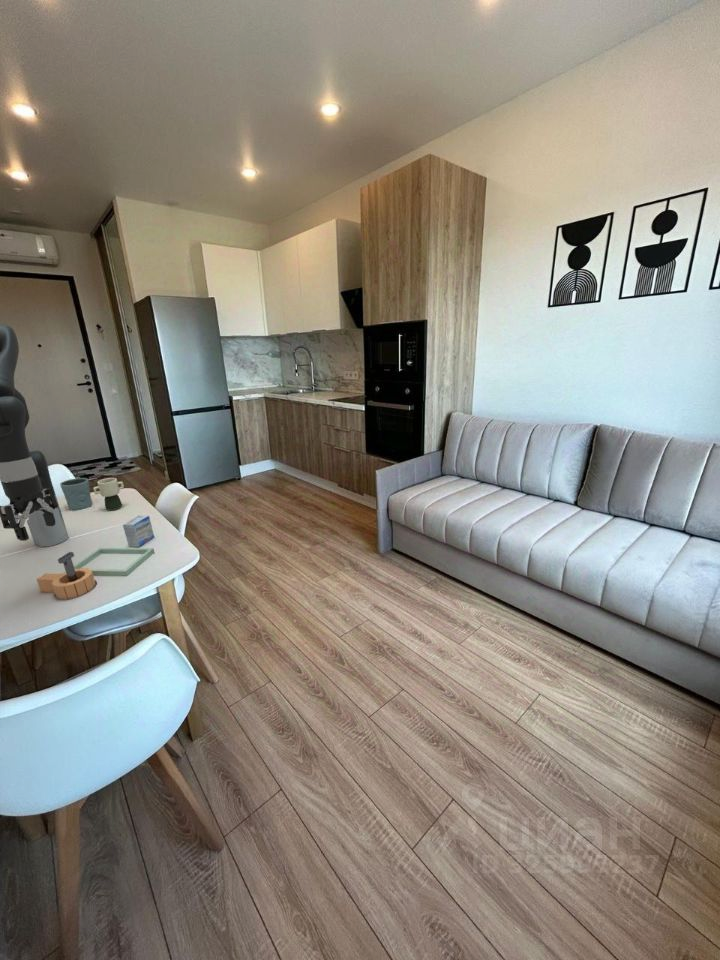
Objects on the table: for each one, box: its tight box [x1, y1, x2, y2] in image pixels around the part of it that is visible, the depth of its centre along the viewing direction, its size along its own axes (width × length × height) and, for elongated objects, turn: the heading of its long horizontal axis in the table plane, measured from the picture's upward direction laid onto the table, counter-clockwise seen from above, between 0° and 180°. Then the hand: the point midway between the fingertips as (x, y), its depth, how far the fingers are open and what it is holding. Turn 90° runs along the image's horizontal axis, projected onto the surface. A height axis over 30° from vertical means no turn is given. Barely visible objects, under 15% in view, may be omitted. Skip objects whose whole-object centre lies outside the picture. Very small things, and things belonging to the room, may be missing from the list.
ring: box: [36, 567, 95, 600], centre depth 109 cm, size 14×9×4 cm, turn 85°
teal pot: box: [59, 477, 93, 512], centre depth 171 cm, size 10×10×12 cm
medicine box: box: [122, 514, 155, 548], centre depth 137 cm, size 8×4×9 cm, turn 168°
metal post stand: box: [54, 551, 98, 601], centre depth 108 cm, size 10×10×12 cm
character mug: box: [93, 477, 125, 511], centre depth 167 cm, size 11×7×13 cm, turn 128°
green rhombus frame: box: [73, 547, 156, 577], centre depth 123 cm, size 19×14×2 cm
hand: (38, 532), depth 105 cm, fingers open, 8 cm apart
